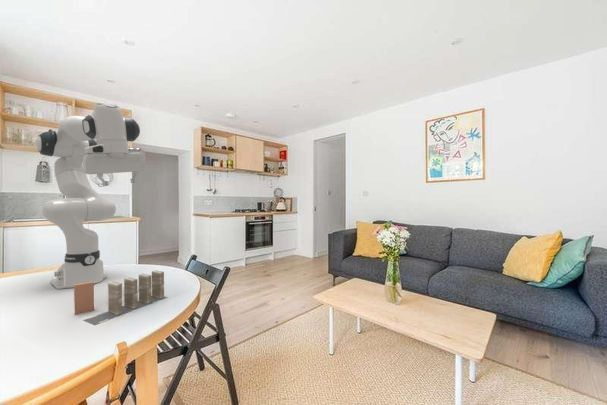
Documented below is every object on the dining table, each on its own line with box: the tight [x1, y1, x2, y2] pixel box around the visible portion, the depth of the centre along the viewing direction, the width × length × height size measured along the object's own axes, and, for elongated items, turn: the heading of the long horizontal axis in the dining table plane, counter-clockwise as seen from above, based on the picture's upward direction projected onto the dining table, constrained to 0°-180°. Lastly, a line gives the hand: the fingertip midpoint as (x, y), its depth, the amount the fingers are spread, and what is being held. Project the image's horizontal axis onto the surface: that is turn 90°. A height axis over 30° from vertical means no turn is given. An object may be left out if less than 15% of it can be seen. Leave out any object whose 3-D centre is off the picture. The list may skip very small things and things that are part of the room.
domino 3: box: [138, 273, 152, 304], centre depth 94 cm, size 2×5×10 cm, turn 64°
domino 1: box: [107, 281, 123, 315], centre depth 85 cm, size 2×5×10 cm, turn 64°
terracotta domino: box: [73, 281, 95, 315], centre depth 86 cm, size 2×5×10 cm, turn 131°
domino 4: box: [151, 270, 165, 300], centre depth 99 cm, size 2×5×10 cm, turn 64°
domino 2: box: [123, 276, 139, 309], centre depth 90 cm, size 2×5×10 cm, turn 64°
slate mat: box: [82, 296, 169, 326], centre depth 89 cm, size 7×24×1 cm, turn 154°
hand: (120, 184), depth 100 cm, fingers open, 8 cm apart
